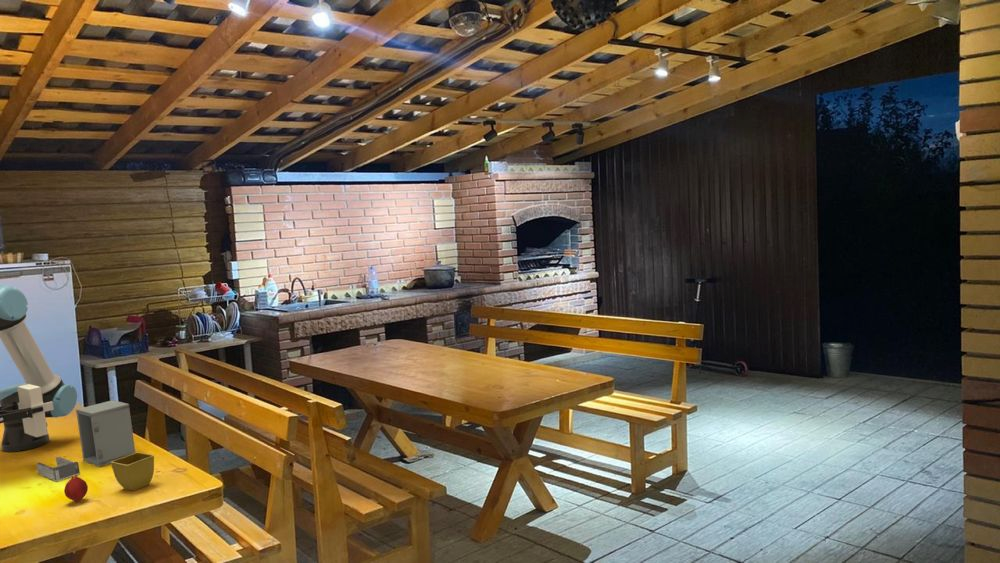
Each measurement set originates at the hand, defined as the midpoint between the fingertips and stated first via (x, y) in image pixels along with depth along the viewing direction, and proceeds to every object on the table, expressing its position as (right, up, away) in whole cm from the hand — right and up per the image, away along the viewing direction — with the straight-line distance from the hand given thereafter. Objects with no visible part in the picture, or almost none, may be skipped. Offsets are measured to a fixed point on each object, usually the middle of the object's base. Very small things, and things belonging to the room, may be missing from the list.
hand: (46, 403), depth 250 cm
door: (-2, -10, -2) cm, 10 cm away
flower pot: (+44, -21, -28) cm, 56 cm away
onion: (+31, -23, -36) cm, 52 cm away
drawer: (+10, -21, -10) cm, 25 cm away
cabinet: (+20, -19, +3) cm, 28 cm away
